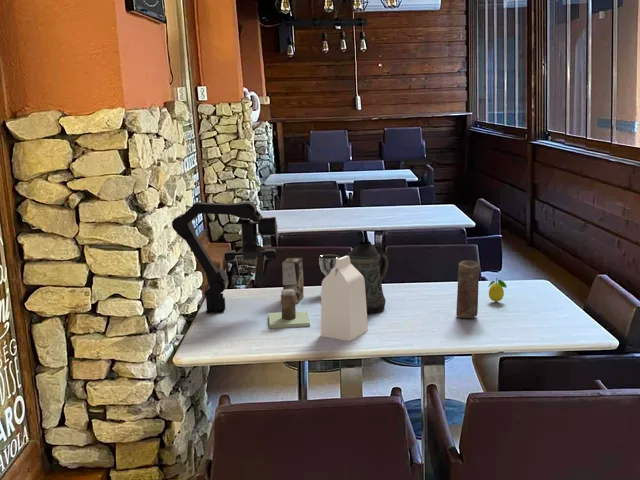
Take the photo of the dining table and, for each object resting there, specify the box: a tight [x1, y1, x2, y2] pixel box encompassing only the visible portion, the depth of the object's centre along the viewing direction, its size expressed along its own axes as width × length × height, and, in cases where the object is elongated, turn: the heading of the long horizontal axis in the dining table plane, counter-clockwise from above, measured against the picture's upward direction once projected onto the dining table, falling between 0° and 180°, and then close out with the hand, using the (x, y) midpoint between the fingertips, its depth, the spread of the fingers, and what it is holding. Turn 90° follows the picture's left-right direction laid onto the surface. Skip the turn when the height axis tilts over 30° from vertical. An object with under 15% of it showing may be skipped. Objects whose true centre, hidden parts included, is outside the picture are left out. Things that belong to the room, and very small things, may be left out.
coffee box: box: [281, 257, 305, 304], centre depth 279 cm, size 9×6×16 cm
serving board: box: [268, 310, 311, 329], centre depth 254 cm, size 14×14×1 cm
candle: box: [455, 259, 480, 320], centre depth 251 cm, size 8×7×20 cm
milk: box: [320, 255, 369, 342], centre depth 237 cm, size 12×12×26 cm
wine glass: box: [318, 254, 340, 277], centre depth 288 cm, size 8×8×15 cm
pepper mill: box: [280, 289, 297, 320], centre depth 253 cm, size 5×5×10 cm
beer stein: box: [346, 241, 389, 316], centre depth 266 cm, size 16×19×25 cm
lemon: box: [488, 277, 508, 303], centre depth 269 cm, size 7×6×10 cm
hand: (251, 277), depth 265 cm, fingers open, 9 cm apart
